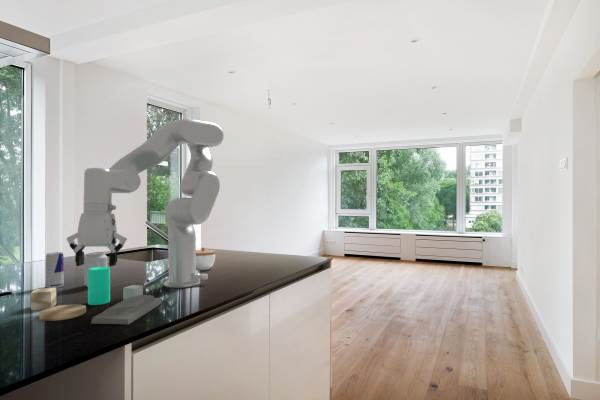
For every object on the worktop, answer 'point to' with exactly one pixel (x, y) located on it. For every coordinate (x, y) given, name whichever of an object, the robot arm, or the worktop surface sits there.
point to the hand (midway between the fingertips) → (96, 265)
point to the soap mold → (127, 310)
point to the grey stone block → (132, 291)
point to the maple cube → (43, 298)
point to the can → (93, 263)
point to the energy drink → (54, 270)
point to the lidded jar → (204, 259)
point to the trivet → (62, 312)
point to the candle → (98, 285)
